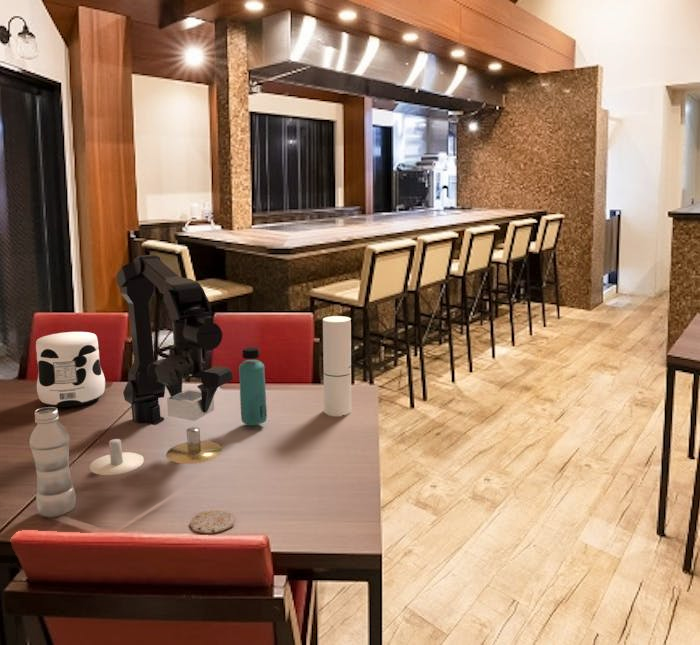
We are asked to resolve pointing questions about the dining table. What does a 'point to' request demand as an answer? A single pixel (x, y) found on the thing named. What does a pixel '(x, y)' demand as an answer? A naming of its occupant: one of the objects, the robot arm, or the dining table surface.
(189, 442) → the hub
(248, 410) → the beverage bottle
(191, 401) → the collar
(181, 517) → the dining table surface
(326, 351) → the cylindrical container
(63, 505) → the plastic bottle
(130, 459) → the stand
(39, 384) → the milk container
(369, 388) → the dining table surface
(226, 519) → the flatbread
